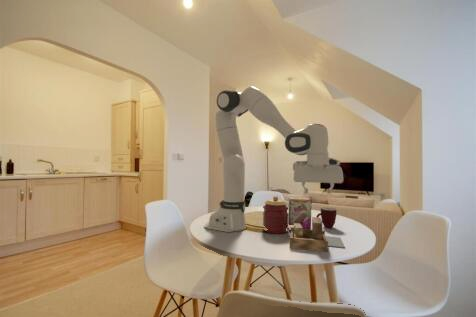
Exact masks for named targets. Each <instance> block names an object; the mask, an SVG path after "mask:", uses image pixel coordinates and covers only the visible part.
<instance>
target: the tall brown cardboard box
mask: <svg viewBox="0 0 476 317" xmlns="http://www.w3.org/2000/svg"><path fill="white" fill-rule="evenodd" d="M311 230H312V239H314V240H322V231H323V223H322V218H321V217H317V216H311Z"/></svg>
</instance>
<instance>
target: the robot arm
mask: <svg viewBox="0 0 476 317" xmlns="http://www.w3.org/2000/svg"><path fill="white" fill-rule="evenodd" d="M216 105H217V107H218V108H219V110H218V111H217V112H216V113H215V128H216V133H217V138H218V141H219V147H220V149H221V150H220V152H221V154H222V155H221V156H222V159H223V163H222V167H223V168H222V169H223V170H222V173H223V199H222V200H221V201H220V202H219V203H218V205H219V206H220V207H219V208H217V209H216V210H215V211H214V212H212V213H211V215H210V216H209V218H208V221H207V222H206V223H205V224H204V229H209V230H214V231H220V232H225V233H231V232H238V231H244V230H246V229H247V228H246V226H247V223H246V217H245V216H246V215H245V214H246V213H245V211H246V200H245V179H246V178H245V177H246V176H245V175H246V174H245V172H246V171H245V170H246V166H245V165H246V164H245V158H244V155H243V149H242V145H241V141H240V136H239V131H238V126H237V121H236V120H237V119H236V118H237V117H239V118H240V117H241V116H242V115H244V114H245V113H248V112H249V113H250V114H251V115H252V116H253V117H254V118H256V119H257V120H258V121H260V122H261V123H263V124H265V125H267V126H269V127H270V128H274V130H276V131H277V132H278V133H279V134H280V135H281V136H282V137H283V138H284V139H285V140H284V147H285V148H286V150H287V151H288V152H290V153H292V154H295V155H297V156H306V160H303V161H302V160H300V161H299V160H297V161H295V162H293V164H292V170H293V172H294V173H293V181H294V182H295V183H301V186H302V187H303V189H304V191H303V192H304V193H305V194H307V193H309V188H307V187H306V183H318V184H319V183H320V184H321V183H323V184H329V185H330V187H329V188H327V190H326V191H327V192H326V194H330V195H332V190H333V188H334V186H335V184H342V183H344V172H343V169H342V167H341V161H340V160H339V159H337V158H336V159H335V158H332V157H329V152H328V146H329V132H328V128H327V127H326V125H323V124H321V123H309V124H308V125H307V126H305V127H304V128H302V129H300V130H296V129H295V128H294V127H293V126H292V125H291V124H290V123H288V121H287V120H286V119H285V118H284V116H283V115H282V114H281V112H280V111H279V109H278V108H277V106H276V104H275V103H274V102H273V100H271V99H270V98H269V97H268V96H267V95H266V94H265V93H264V92H262V90H260V89H258V88H257V87H254V86H248V87H247V88H245V89H244V90H243V92H239V91H235V90H230V89H229V90H227V89H226V90H221V91H220V92H219V93H218V94H217V97H216ZM245 224H246V226H245Z"/></svg>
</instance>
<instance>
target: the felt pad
mask: <svg viewBox="0 0 476 317" xmlns="http://www.w3.org/2000/svg"><path fill="white" fill-rule="evenodd" d="M325 236H326V239H327V241H328V248H329V247H331V248H340V249H345V248H346V246H345V244H344V242H343V241H342V239H341V238H342V237H340V236H329V235H325Z"/></svg>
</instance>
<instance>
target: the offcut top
mask: <svg viewBox="0 0 476 317" xmlns="http://www.w3.org/2000/svg"><path fill="white" fill-rule="evenodd" d="M294 233H295V235H296V236H302V235H303V228H302V226H301V225H300V224H299V223H294Z"/></svg>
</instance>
